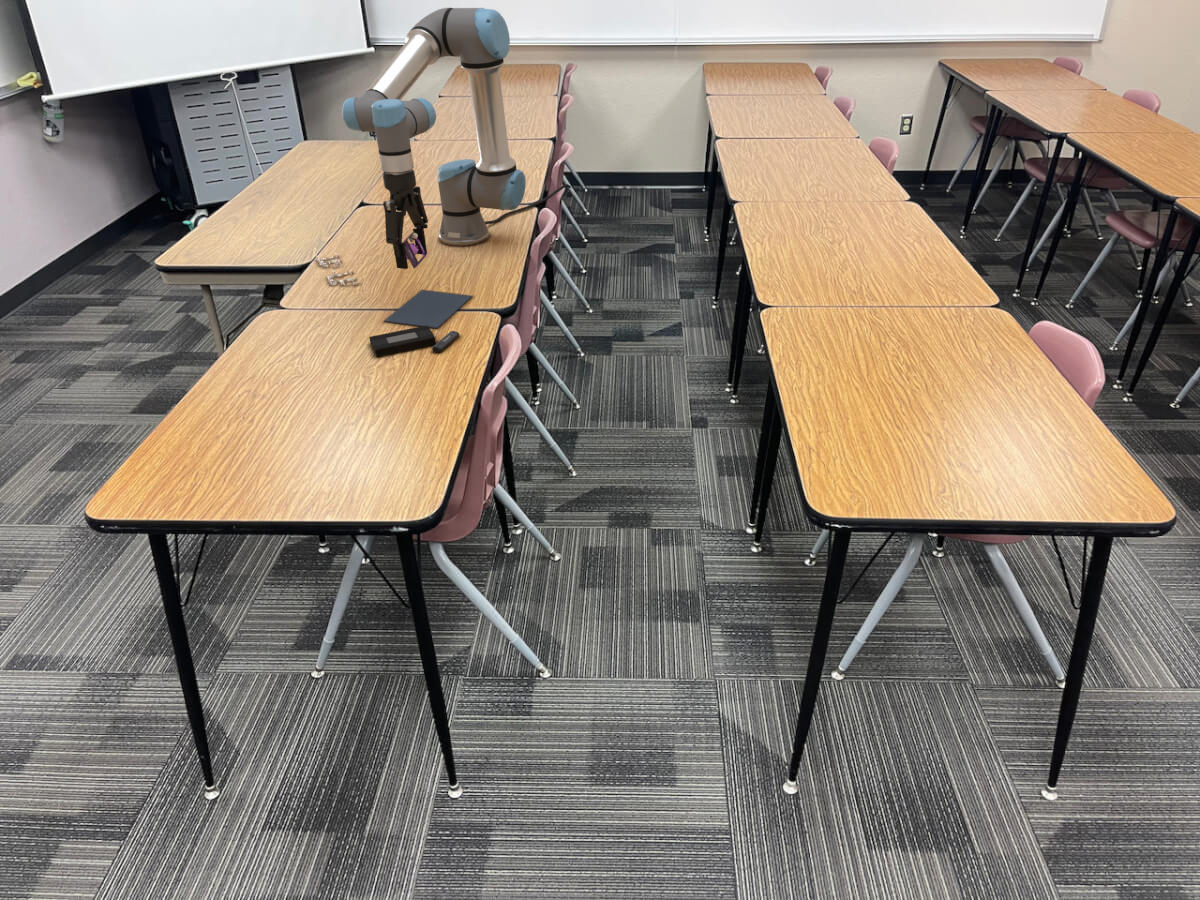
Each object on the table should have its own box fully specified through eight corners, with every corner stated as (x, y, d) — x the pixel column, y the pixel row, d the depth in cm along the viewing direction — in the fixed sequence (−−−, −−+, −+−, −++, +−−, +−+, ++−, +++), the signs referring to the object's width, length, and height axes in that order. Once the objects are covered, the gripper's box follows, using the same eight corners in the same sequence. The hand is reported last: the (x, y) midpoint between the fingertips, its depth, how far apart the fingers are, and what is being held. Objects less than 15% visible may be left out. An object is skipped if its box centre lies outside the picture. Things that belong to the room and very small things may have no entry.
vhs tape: (370, 344, 196) (369, 336, 195) (428, 332, 201) (427, 325, 200) (376, 357, 191) (375, 349, 190) (436, 345, 195) (435, 337, 194)
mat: (422, 291, 222) (421, 289, 222) (471, 297, 218) (471, 295, 218) (384, 322, 207) (384, 320, 206) (437, 328, 203) (437, 327, 202)
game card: (404, 242, 198) (416, 230, 206) (386, 248, 200) (399, 236, 207) (417, 267, 202) (429, 254, 209) (399, 273, 203) (411, 260, 211)
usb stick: (440, 353, 192) (440, 348, 191) (431, 352, 192) (430, 346, 192) (460, 336, 199) (460, 331, 198) (451, 335, 200) (450, 329, 199)
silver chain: (340, 255, 246) (339, 251, 245) (357, 285, 227) (356, 279, 226) (316, 260, 243) (315, 255, 242) (332, 289, 224) (330, 284, 223)
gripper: (407, 157, 203) (420, 244, 215) (359, 182, 186) (376, 275, 198) (433, 159, 201) (445, 247, 213) (388, 185, 184) (403, 278, 196)
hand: (412, 260), depth 206 cm, fingers closed on game card, 9 cm apart
